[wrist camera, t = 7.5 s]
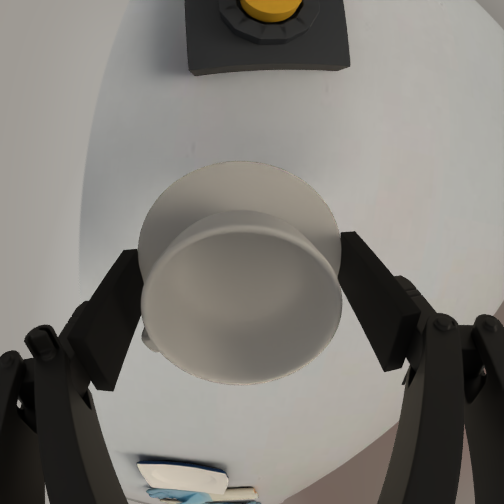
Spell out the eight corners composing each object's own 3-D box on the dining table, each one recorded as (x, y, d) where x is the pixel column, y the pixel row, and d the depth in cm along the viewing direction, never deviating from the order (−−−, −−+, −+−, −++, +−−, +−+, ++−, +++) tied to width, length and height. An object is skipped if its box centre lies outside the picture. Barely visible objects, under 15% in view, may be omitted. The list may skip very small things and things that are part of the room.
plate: (149, 479, 56) (148, 487, 54) (133, 450, 47) (131, 461, 45) (226, 487, 58) (227, 495, 56) (230, 461, 49) (230, 472, 47)
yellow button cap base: (194, 76, 21) (184, 67, 16) (189, -20, 16) (179, -45, 12) (337, 71, 21) (359, 63, 16) (326, -23, 16) (343, -45, 12)
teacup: (285, 119, 12) (312, 123, 7) (361, 290, 16) (395, 347, 12) (103, 228, 13) (59, 276, 9) (209, 357, 18) (204, 420, 13)
